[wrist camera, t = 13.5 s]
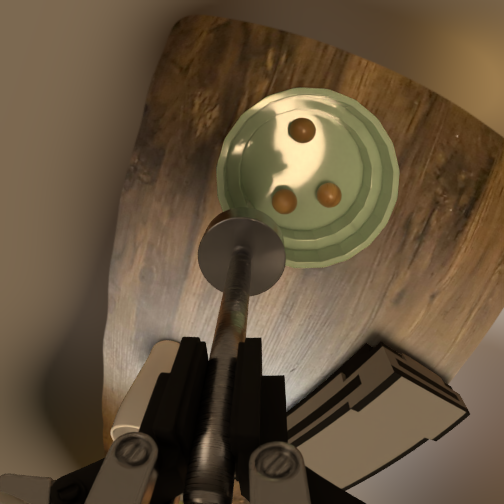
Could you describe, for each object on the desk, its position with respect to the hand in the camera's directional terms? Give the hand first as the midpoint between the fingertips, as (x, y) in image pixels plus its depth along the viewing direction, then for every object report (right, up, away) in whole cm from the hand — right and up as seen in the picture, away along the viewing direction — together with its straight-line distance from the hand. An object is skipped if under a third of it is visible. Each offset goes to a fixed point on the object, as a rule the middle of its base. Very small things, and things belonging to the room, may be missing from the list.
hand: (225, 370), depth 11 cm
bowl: (+6, +12, +20) cm, 24 cm away
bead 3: (+8, +9, +19) cm, 23 cm away
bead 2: (+5, +15, +17) cm, 23 cm away
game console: (+16, -23, +34) cm, 44 cm away
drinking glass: (-10, -9, +30) cm, 32 cm away
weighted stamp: (0, +4, +9) cm, 10 cm away
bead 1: (+4, +9, +19) cm, 22 cm away
